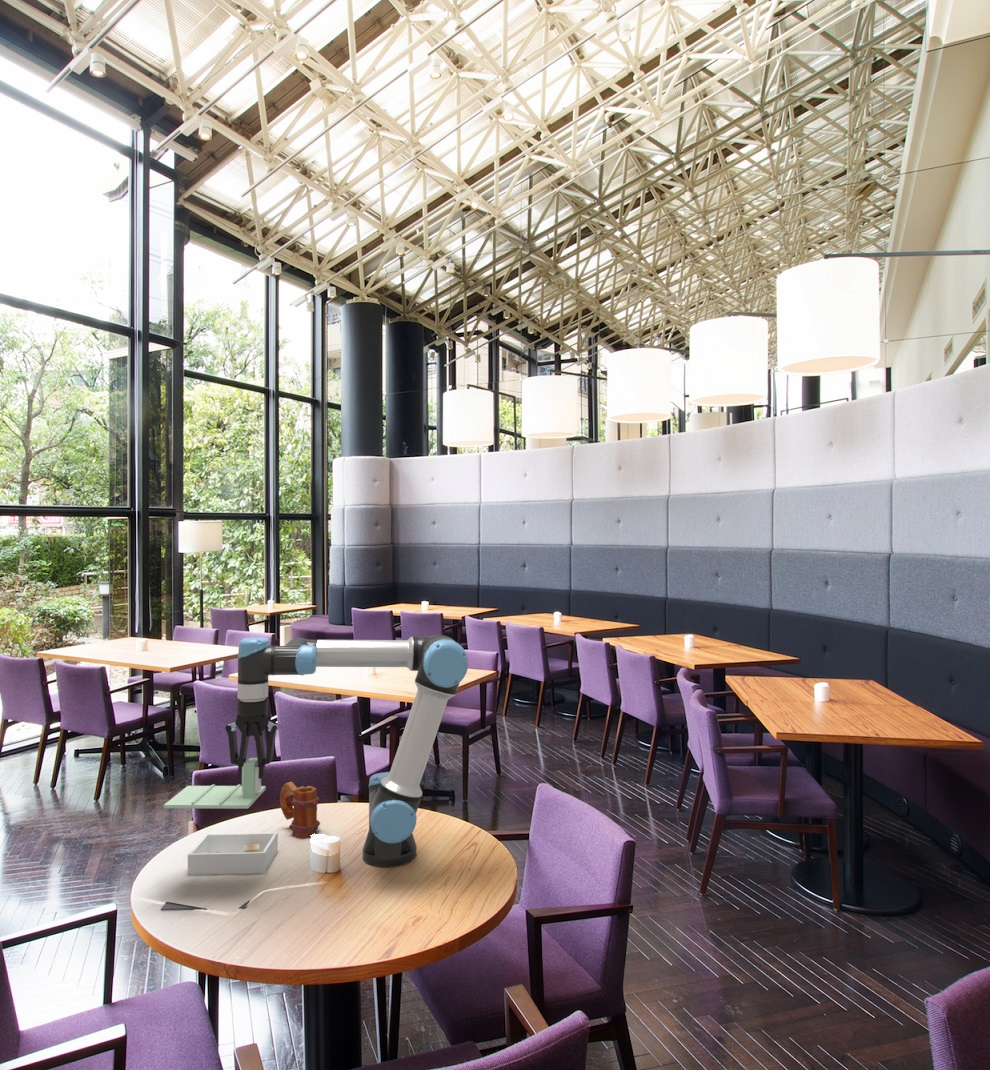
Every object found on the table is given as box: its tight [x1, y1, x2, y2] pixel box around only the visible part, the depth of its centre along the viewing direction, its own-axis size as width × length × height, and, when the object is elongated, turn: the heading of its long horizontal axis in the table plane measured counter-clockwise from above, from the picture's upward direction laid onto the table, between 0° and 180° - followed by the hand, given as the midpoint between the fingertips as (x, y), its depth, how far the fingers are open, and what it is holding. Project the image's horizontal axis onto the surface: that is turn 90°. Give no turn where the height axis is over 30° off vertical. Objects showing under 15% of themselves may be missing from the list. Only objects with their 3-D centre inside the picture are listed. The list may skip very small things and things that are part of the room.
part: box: [244, 844, 259, 852], centre depth 203 cm, size 4×4×3 cm
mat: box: [160, 899, 251, 911], centre depth 184 cm, size 20×15×1 cm
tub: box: [187, 832, 279, 876], centre depth 201 cm, size 20×14×6 cm
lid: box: [163, 757, 267, 810], centre depth 187 cm, size 21×15×10 cm
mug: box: [279, 781, 321, 839], centre depth 222 cm, size 15×8×15 cm, turn 58°
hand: (251, 790), depth 187 cm, fingers closed on lid, 3 cm apart
